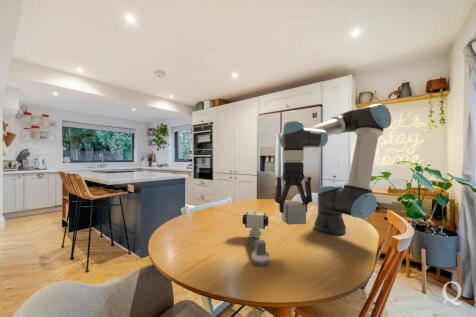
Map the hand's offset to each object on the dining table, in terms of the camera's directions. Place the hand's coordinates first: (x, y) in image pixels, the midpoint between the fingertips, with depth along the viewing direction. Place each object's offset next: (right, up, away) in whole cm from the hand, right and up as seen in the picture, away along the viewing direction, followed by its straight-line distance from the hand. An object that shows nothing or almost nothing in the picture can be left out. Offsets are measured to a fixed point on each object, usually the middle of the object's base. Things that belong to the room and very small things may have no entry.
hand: (293, 220), depth 78 cm
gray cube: (0, 0, 0) cm, 0 cm away
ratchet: (-15, -12, -1) cm, 19 cm away
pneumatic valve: (-13, -13, +15) cm, 24 cm away
